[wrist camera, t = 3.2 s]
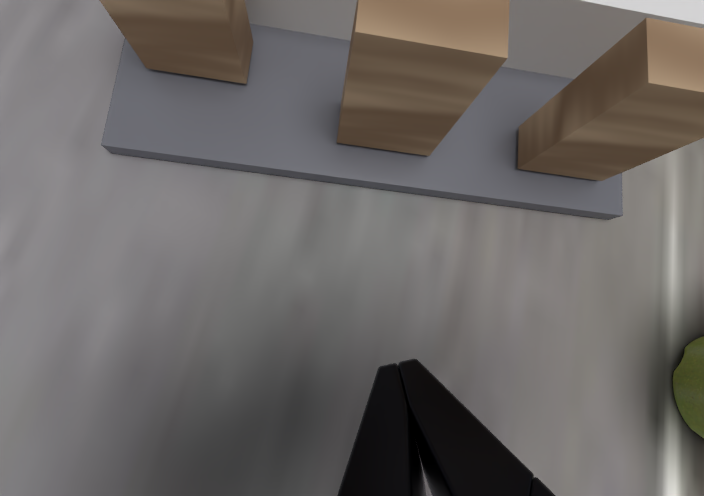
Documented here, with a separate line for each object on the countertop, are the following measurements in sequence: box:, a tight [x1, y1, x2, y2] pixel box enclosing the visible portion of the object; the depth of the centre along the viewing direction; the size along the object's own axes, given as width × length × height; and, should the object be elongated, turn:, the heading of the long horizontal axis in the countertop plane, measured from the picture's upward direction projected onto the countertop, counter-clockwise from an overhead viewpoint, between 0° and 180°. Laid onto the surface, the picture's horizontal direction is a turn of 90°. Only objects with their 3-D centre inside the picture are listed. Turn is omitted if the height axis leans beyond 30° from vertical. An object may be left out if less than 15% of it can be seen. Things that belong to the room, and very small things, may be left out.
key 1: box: [518, 18, 704, 181], centre depth 17 cm, size 2×5×8 cm, turn 85°
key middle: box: [337, 0, 510, 156], centre depth 16 cm, size 2×5×8 cm, turn 85°
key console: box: [101, 0, 704, 220], centre depth 19 cm, size 18×28×6 cm, turn 84°
